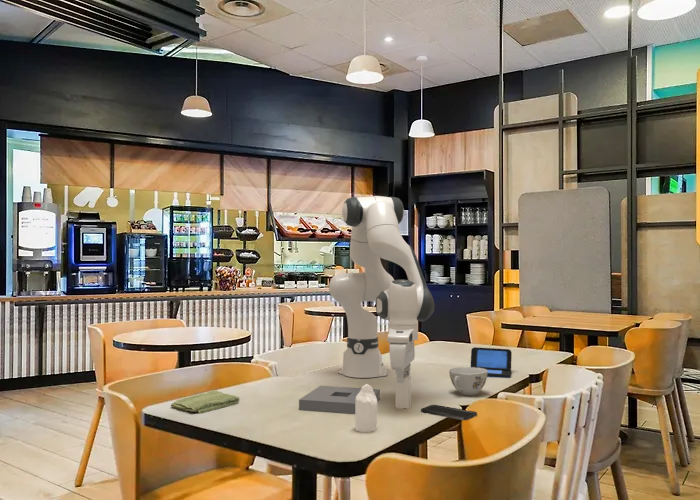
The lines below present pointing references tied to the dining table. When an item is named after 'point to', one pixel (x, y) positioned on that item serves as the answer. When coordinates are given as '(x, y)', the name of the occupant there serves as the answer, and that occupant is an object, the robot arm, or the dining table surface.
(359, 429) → the white bottle
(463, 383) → the teacup
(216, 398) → the washcloth
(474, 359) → the handheld game console
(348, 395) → the grey socket board
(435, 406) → the phone
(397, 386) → the charger plug
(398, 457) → the dining table surface
